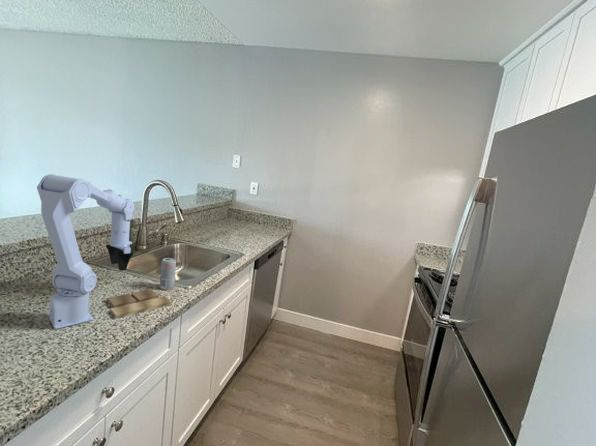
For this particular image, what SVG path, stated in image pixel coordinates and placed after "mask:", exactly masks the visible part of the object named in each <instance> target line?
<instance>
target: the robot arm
mask: <svg viewBox="0 0 596 446" xmlns="http://www.w3.org/2000/svg"><path fill="white" fill-rule="evenodd" d="M91 182H92V181H90V180H89V181H88V180H86V179H83V178H75V177H68V176H62V175H56V174H53V173H49V174H46V175H44V176H43V177H42V178H41V179H40V181H39V183H38V185H36V189H37V193H38V195H39V198H40V201H41V209H40V210H41V216H42V220H43V223H44V225H45V229H46V231H47V235H48V238H49V240H50V244H51V246H52V249H53V253H54V255H55V259H56V262H57V265H56V266H55V267H54V268H53V269H52V271H51V274H52V286H53V288H55V289H57V293H55V294H53V295H50V296H49V316H48V318H49V319H48V320H49V321H50V323H51V325H52V326H53V328H54V329H55V330H57V329H62V328H67V327H70V326H73V325H74V326H75V325H80V324H82V323H86V322H90V321H94V317H93V315H92V314H90V292H92V291H93V290H94V289H95V288H96V286H97V281H98V277H97V274H96V273H95V272H94V271H93V269H92V267H91V266H90V265H89V264H87V263H85V262H84V261H83V259H82V255H81V252H80V248H79V245H78V242H77V238H76V235H75V231H74V227H73V224H72V220H71V216H70V214H71V213H74V212H77V210H78V209H79V208H80V207H81V206H82V204H83V203H84V202H85V201H86V200H87V198H90V199H93V200H95V201H96V203H97V205H98V206H100V207H102V208H104V209H107V210H108V212H109V213H110V214H111V219H110V220H111V221H110V222H111V224H110V226H111V228H110V237H109V244H106V245H105V248H106V250H107V252H108V255H109V259H110V263H111V265H115V264H116V265H117V266H118V270H119V271H126V270H127V268H128V266H129V264H130V263H129V262H130V260H131V258H132V257H133V256H134V251H133V250H132V249H131V247H130V245H133V241H131V240H130V230H131V228H130V227H131V226H130V225H131V220H132V218H133V213H134V210H135V204H134V201H132V200H131V198H129V199H128V198H124V197H123V195H121V194H117V193H116V192H115V190H114V189H109V188H108V189H104V190H103V189H100V188H99V187H97V186H96V185H94V184H92V183H91Z"/></svg>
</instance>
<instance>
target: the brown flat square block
mask: <svg viewBox="0 0 596 446" xmlns="http://www.w3.org/2000/svg"><path fill="white" fill-rule="evenodd" d="M106 302H107V303H108V305H110V307H111V308H115V307H119V306H124V305H128V304H133V303H137V301H136V300H135V299H134V298H133V297H132V296H131V294H129V293H124V294H121V295H120V294H119V295H116V296H115V295H114V296H109V297H106Z"/></svg>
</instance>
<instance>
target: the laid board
mask: <svg viewBox="0 0 596 446" xmlns="http://www.w3.org/2000/svg"><path fill="white" fill-rule="evenodd" d="M171 305H172V301H171V300H169V298H168V297H166V296H160V297H159V298H154V299H150V300H146V301H141V302H137V301H136V303H133V304H128V305H124V306H119V307H115V308H113V307H111V308H110V309H109V312H110V313H111V314H112V315H113V317H114V318H115V319H119V318H124V317H127V316H131V315H136V314H139V313H143V312H147V311H151V310H154V309H159V308H162V307H163V308H164V307H167V306H171Z"/></svg>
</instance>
